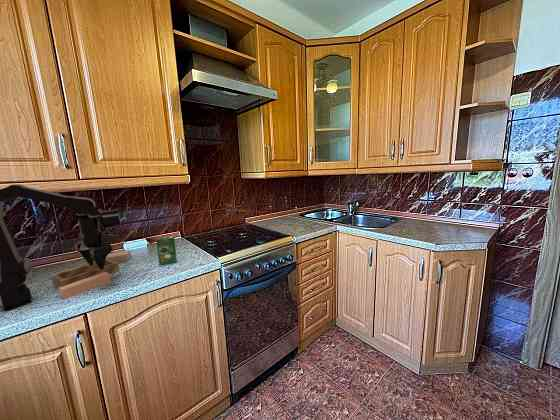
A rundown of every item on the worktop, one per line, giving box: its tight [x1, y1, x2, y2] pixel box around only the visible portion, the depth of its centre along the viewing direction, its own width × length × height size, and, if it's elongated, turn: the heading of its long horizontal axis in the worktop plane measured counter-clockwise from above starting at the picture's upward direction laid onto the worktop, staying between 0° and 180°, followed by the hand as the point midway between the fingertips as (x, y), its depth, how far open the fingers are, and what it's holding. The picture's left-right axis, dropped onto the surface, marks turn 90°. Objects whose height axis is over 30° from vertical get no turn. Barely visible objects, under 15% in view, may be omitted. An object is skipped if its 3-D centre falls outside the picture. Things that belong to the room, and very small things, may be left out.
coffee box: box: [155, 235, 178, 266], centre depth 113 cm, size 8×3×13 cm, turn 108°
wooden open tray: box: [50, 259, 120, 289], centre depth 102 cm, size 20×11×4 cm, turn 149°
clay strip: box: [58, 272, 112, 300], centre depth 91 cm, size 15×4×4 cm, turn 149°
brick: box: [94, 249, 132, 264], centre depth 119 cm, size 17×8×5 cm, turn 117°
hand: (96, 267), depth 94 cm, fingers open, 9 cm apart
